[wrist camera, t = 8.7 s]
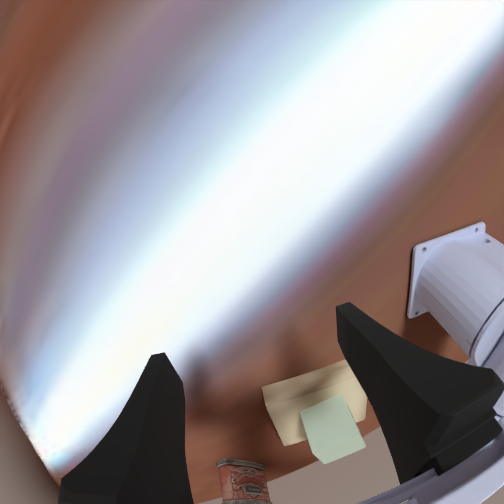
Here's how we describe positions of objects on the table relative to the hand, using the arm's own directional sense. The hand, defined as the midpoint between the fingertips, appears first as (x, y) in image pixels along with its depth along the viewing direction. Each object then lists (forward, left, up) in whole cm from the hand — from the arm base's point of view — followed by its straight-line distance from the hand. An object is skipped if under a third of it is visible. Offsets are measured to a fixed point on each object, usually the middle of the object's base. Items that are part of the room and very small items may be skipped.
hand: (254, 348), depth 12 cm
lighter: (+8, +34, -10) cm, 36 cm away
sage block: (-4, +19, -7) cm, 21 cm away
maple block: (-4, +20, -10) cm, 23 cm away
